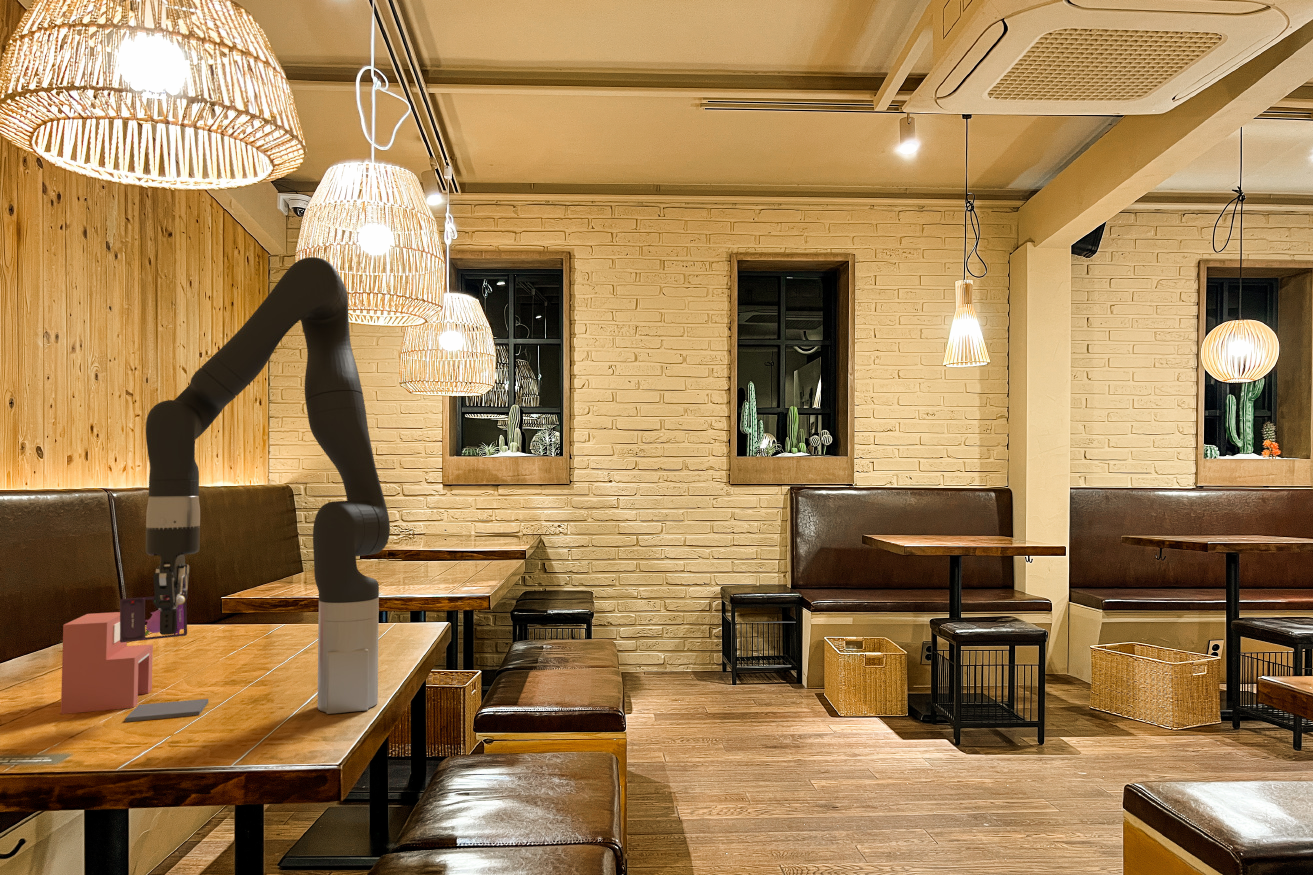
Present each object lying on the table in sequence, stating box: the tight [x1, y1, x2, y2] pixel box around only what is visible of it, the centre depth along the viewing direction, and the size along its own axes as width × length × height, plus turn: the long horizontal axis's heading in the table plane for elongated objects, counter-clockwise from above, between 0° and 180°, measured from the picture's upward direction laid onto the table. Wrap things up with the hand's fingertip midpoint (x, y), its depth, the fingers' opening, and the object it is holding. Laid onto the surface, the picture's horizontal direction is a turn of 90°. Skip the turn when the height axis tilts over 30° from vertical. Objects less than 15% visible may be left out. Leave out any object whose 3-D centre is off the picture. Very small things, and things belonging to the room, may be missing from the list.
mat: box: [124, 698, 209, 723], centre depth 131 cm, size 8×10×1 cm
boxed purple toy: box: [119, 594, 188, 643], centre depth 131 cm, size 7×5×9 cm
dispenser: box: [60, 611, 154, 715], centre depth 138 cm, size 12×10×14 cm
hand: (171, 631), depth 132 cm, fingers closed on boxed purple toy, 3 cm apart
